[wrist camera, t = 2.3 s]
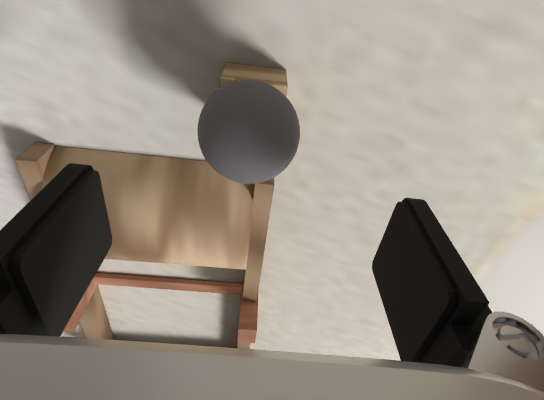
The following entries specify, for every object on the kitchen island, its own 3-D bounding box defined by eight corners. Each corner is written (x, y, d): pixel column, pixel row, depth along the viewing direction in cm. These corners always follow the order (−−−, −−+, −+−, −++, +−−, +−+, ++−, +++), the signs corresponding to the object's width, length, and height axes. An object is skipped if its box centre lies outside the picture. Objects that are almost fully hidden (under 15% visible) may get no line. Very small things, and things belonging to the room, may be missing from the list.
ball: (206, 60, 14) (186, 97, 10) (304, 72, 14) (313, 111, 11) (206, 147, 16) (190, 199, 13) (289, 156, 16) (293, 208, 13)
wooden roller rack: (75, 105, 22) (-17, 184, 15) (275, 127, 23) (276, 211, 16) (123, 299, 35) (85, 392, 28) (250, 308, 36) (245, 400, 29)
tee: (226, 62, 16) (220, 78, 14) (285, 69, 16) (287, 86, 14) (224, 118, 17) (218, 139, 16) (278, 124, 18) (278, 145, 16)
